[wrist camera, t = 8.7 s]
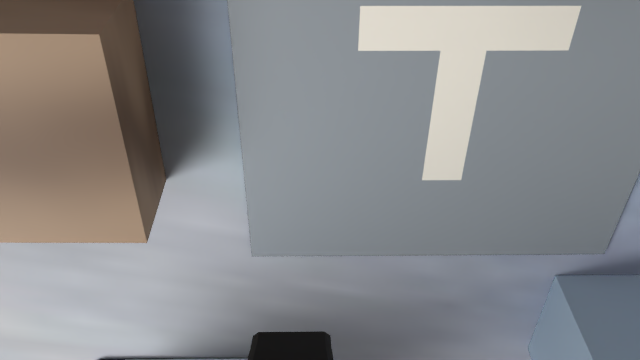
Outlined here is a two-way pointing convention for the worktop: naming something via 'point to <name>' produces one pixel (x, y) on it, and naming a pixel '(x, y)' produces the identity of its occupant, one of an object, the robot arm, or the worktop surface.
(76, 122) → the walnut slab
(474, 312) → the worktop surface
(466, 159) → the light gray board
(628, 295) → the grey cube
